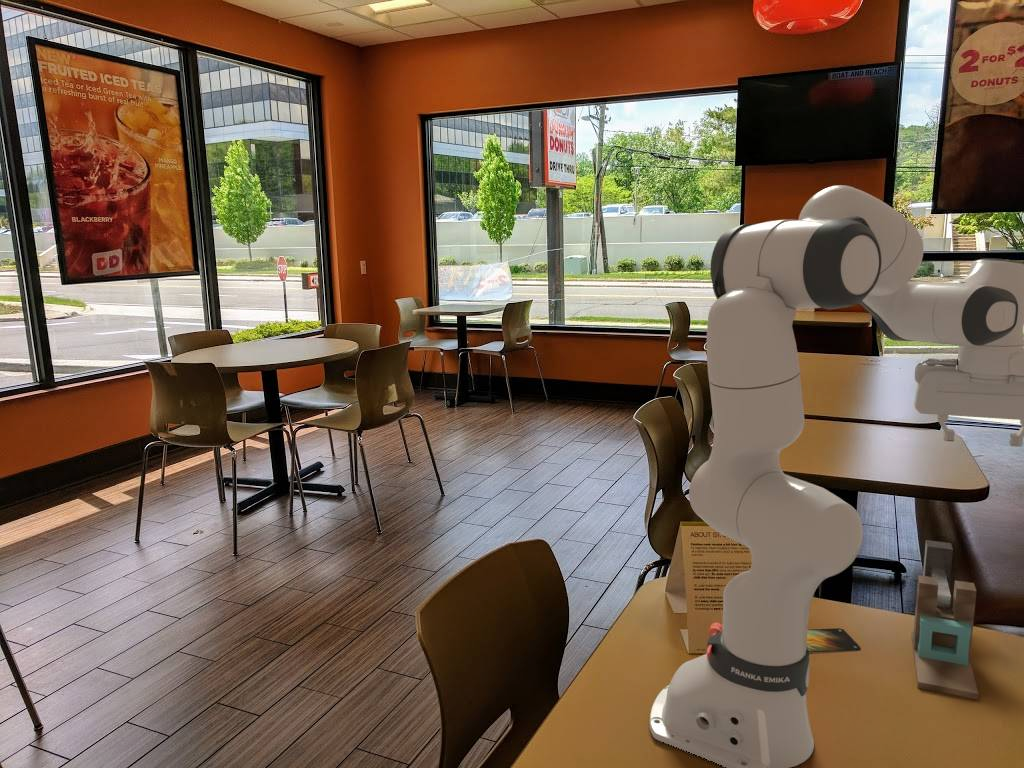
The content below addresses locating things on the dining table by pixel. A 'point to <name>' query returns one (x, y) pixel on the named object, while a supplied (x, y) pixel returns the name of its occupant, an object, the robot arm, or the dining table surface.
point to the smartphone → (830, 641)
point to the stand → (944, 639)
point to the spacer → (940, 652)
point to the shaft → (939, 568)
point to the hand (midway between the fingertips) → (981, 443)
